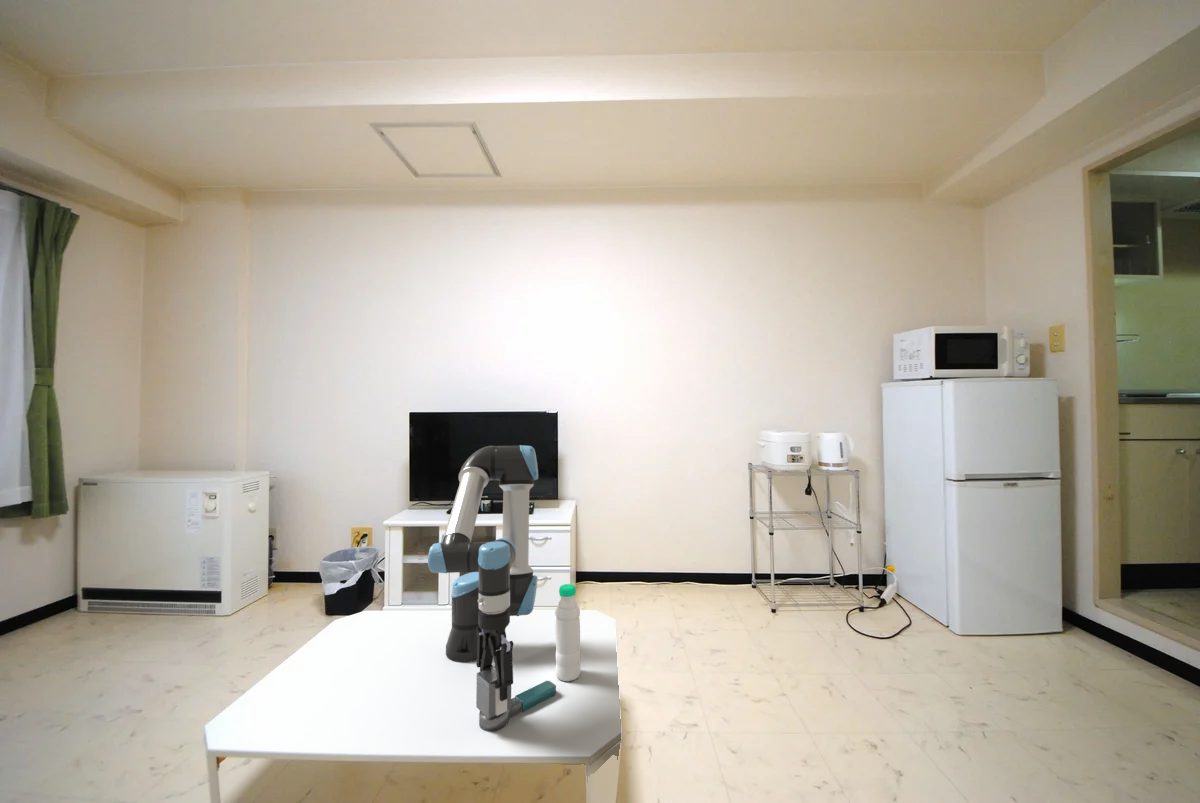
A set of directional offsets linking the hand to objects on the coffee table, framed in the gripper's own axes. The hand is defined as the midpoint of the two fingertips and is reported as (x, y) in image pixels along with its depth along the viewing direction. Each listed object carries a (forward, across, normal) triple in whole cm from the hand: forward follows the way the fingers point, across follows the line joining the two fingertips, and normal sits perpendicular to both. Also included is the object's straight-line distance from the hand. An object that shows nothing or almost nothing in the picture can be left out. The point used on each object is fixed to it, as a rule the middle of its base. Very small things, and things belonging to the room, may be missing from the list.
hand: (494, 705), depth 110 cm
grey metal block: (0, 0, 0) cm, 0 cm away
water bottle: (+4, -3, +25) cm, 26 cm away
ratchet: (+4, 0, +7) cm, 8 cm away
